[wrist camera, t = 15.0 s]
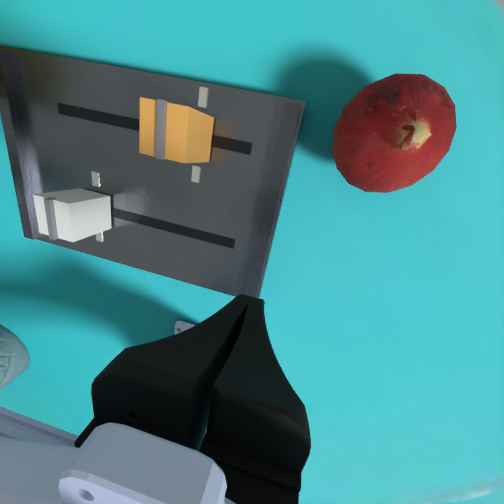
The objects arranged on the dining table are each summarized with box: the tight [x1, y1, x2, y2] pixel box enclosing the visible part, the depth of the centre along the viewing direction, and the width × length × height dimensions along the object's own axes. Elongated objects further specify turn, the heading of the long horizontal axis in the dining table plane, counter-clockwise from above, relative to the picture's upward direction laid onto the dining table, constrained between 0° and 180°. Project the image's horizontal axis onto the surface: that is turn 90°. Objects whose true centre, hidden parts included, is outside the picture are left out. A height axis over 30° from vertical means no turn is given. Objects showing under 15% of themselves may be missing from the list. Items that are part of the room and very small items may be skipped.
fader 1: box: [33, 188, 111, 242], centre depth 20 cm, size 3×3×4 cm
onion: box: [332, 74, 456, 193], centre depth 13 cm, size 6×6×8 cm
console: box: [0, 45, 306, 298], centre depth 21 cm, size 16×24×2 cm, turn 79°
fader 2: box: [139, 97, 214, 163], centre depth 16 cm, size 3×3×4 cm
